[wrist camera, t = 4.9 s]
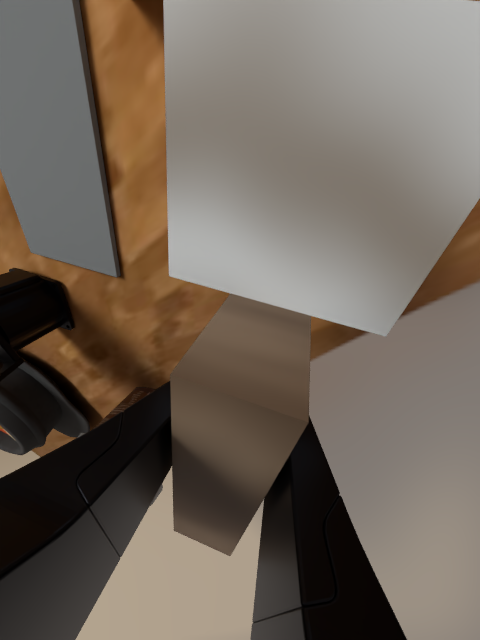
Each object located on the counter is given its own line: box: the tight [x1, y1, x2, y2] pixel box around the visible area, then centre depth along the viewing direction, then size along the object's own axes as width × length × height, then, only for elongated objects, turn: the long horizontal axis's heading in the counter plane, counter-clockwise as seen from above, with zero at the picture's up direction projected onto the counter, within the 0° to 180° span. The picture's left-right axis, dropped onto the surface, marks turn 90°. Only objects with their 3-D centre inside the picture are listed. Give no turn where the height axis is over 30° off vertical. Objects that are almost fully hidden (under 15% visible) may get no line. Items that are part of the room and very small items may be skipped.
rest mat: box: [0, 0, 121, 277], centre depth 16 cm, size 22×10×1 cm, turn 170°
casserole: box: [0, 361, 90, 455], centre depth 36 cm, size 25×19×8 cm
